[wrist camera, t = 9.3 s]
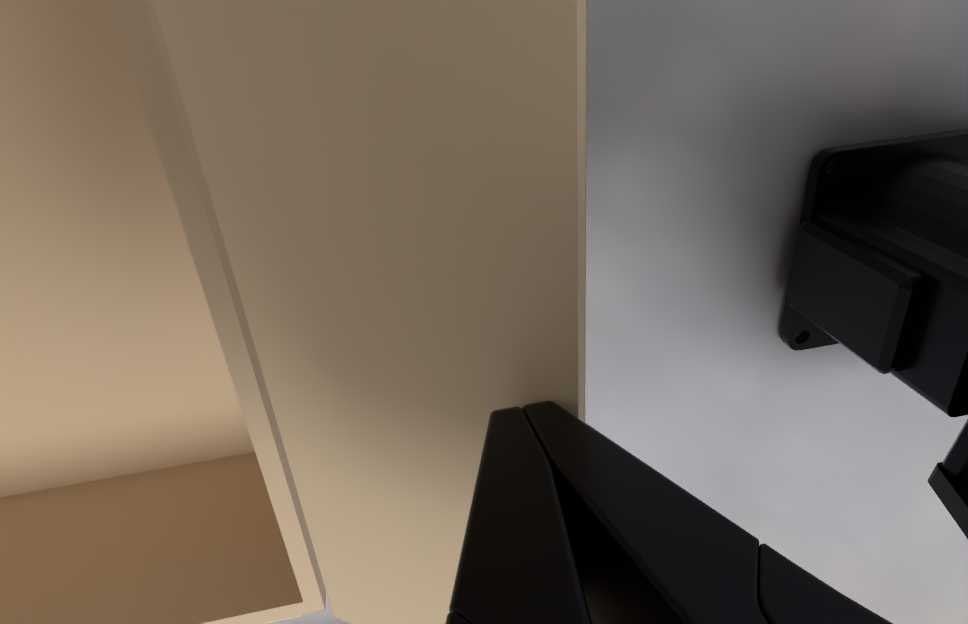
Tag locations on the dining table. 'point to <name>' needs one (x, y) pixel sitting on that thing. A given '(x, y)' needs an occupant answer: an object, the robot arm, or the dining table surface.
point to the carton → (127, 349)
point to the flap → (395, 251)
